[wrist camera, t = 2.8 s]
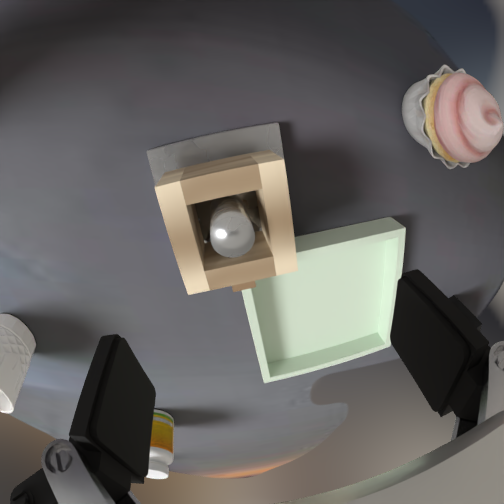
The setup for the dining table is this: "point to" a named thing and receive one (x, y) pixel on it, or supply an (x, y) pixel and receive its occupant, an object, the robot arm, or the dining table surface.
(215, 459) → the dining table surface
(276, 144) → the grey stand
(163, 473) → the supplement bottle
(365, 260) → the tray
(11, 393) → the white cup
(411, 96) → the cupcake
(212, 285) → the wooden square frame
